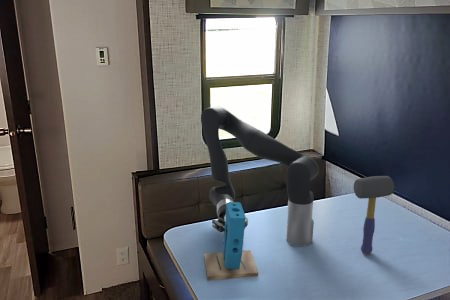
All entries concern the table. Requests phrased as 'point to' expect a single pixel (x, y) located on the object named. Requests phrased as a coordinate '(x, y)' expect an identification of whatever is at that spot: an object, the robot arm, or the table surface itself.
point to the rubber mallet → (371, 203)
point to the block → (233, 235)
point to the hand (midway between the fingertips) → (233, 234)
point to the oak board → (218, 270)
